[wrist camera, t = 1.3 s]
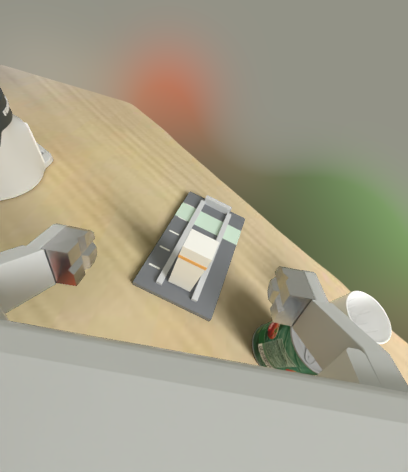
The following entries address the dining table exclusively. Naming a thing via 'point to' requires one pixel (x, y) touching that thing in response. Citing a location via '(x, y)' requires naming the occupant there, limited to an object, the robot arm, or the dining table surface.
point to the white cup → (365, 315)
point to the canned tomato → (282, 349)
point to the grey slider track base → (170, 244)
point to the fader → (193, 259)
